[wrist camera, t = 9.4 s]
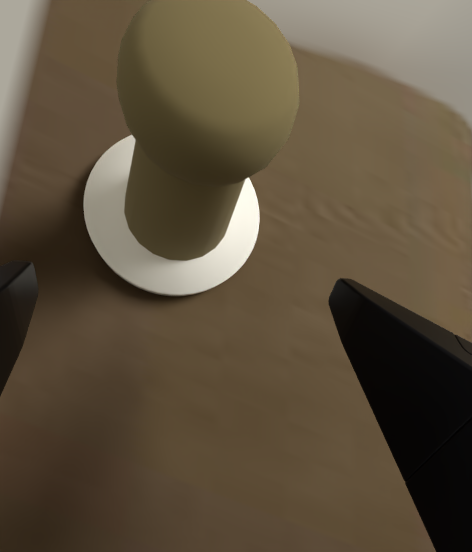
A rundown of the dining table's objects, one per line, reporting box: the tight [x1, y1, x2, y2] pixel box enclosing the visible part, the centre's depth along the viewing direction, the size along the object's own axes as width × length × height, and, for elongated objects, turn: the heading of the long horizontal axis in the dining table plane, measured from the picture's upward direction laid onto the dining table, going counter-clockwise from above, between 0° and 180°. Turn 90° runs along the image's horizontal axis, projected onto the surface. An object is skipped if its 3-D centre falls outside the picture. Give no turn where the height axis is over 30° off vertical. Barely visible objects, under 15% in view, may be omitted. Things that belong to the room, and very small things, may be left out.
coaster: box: [83, 135, 259, 296], centre depth 18 cm, size 10×10×1 cm
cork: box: [117, 0, 299, 261], centre depth 13 cm, size 6×6×11 cm
